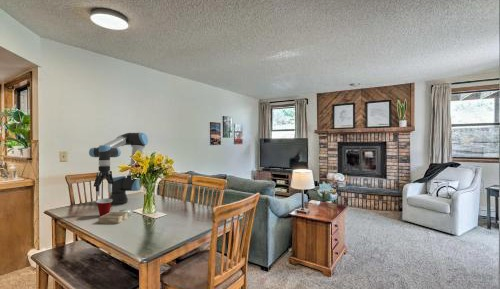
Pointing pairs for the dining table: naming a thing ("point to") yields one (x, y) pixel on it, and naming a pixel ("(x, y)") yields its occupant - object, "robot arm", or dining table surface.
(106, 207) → the plastic cup
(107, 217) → the maple open box
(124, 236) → the dining table surface
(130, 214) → the pale green ball
